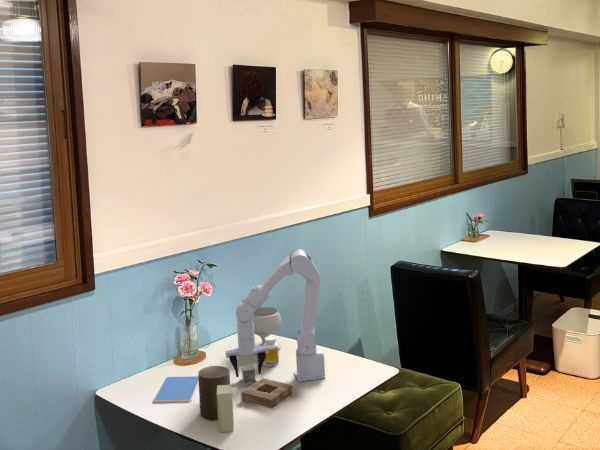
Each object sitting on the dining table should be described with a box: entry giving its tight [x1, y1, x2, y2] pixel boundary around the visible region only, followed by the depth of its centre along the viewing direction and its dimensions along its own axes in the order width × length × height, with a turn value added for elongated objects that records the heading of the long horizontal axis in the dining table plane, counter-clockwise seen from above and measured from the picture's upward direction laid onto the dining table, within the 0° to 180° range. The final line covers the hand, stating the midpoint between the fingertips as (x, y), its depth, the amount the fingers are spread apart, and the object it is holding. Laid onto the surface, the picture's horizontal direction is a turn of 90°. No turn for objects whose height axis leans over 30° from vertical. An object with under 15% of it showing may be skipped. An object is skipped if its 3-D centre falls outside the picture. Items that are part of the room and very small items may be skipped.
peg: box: [241, 364, 257, 384], centre depth 226 cm, size 4×4×5 cm
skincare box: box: [217, 383, 235, 433], centre depth 193 cm, size 6×4×12 cm
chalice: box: [253, 306, 282, 351], centre depth 253 cm, size 14×14×15 cm
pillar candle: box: [197, 365, 231, 421], centre depth 202 cm, size 10×10×15 cm
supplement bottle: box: [263, 335, 280, 367], centre depth 239 cm, size 5×5×10 cm
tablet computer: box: [152, 375, 199, 404], centre depth 221 cm, size 19×13×1 cm, turn 178°
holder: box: [240, 377, 294, 410], centre depth 212 cm, size 12×12×3 cm
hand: (248, 374), depth 226 cm, fingers open, 7 cm apart
